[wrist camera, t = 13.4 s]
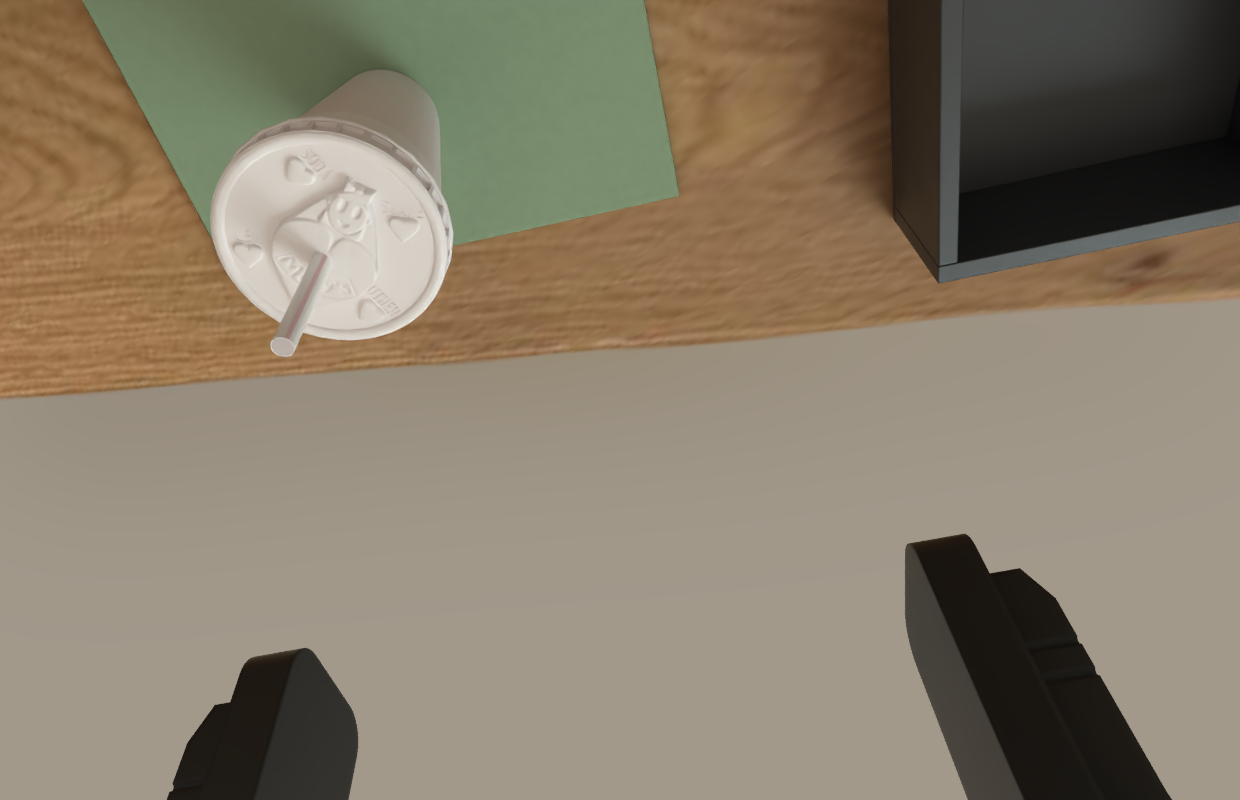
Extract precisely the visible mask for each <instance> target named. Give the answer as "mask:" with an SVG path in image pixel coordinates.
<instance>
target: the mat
mask: <svg viewBox="0 0 1240 800" xmlns="http://www.w3.org/2000/svg"><path fill="white" fill-rule="evenodd" d="M82 1H83V3H84V5H85V7H86V8H87V10H88V12H89V14H90V16H91V18H92V19H93V21H94V23H95V25H96V27H97V29H98V30H99V32H100V34H101V36H102V38H103V40H104V41H105V43H106V45H107V47H108V49H109V51H110V52H111V54H112V56H113V58H114V60H115V62H116V63H117V65H118V67H119V69H120V71H121V73H122V75H123V76H124V78H125V80H126V82H127V84H128V86H129V87H130V89H131V91H132V93H133V95H134V97H135V98H136V100H137V102H138V104H139V106H140V108H141V109H142V111H143V113H144V115H145V117H146V119H147V120H148V122H149V124H150V126H151V128H152V130H153V132H154V133H155V135H156V137H157V139H158V141H159V143H160V144H161V146H162V148H163V150H164V152H165V154H166V155H167V157H168V159H169V161H170V163H171V165H172V166H173V168H174V170H175V172H176V174H177V176H178V177H179V179H180V181H181V183H182V185H183V187H184V189H185V190H186V192H187V194H188V196H189V198H190V200H191V201H192V203H193V205H194V207H195V209H196V211H197V212H198V214H199V216H200V218H201V220H202V222H203V223H204V225H205V227H206V229H207V231H208V233H209V234H210V236H211V238H212V232H211V222H210V213H211V204H212V199H213V195H214V192H215V189H216V186H217V184H218V182H219V179H220V177H221V176H222V174H223V172H224V170H225V168H226V167H227V165H228V164H229V162H230V160H231V159H232V157H233V156H234V154H235V152H236V151H237V149H238V148H239V147H240V146H242V145H243V144H244V143H245V142H247V141H248V140H249V139H250V138H251V137H253V136H254V135H255V134H256V133H258V132H259V131H260V130H262V129H265V128H267V127H270V126H272V125H275V124H278V123H280V122H283V121H285V120H288V119H295V118H299V117H300V116H302V115H303V114H305V113H306V112H307V111H309V110H310V109H311V108H313V107H314V106H315V105H317V104H318V103H319V102H321V101H322V100H323V99H325V98H326V97H328V96H329V95H330V94H332V93H333V92H334V91H336V90H337V89H338V88H340V87H341V86H342V85H344V84H345V83H346V82H348V81H349V80H351V79H352V78H353V77H355V76H357V75H358V74H361V73H363V72H366V71H370V70H390V71H395V72H398V73H401V74H403V75H405V76H407V77H409V78H411V79H412V80H414V81H415V82H416V83H418V84H419V85H420V86H421V87H422V88H423V89H424V90H425V91H426V92H427V94H428V95H429V96H430V98H431V99H432V101H433V103H434V105H435V107H436V110H437V113H438V117H439V125H440V163H441V193H442V195H443V197H444V199H445V201H446V203H447V205H448V209H449V214H450V219H451V224H452V228H453V244H452V246H454V245H458V244H463V243H467V242H472V241H477V240H481V239H486V238H490V237H495V236H499V235H504V234H508V233H513V232H518V231H522V230H527V229H531V228H536V227H540V226H545V225H549V224H554V223H559V222H563V221H568V220H572V219H577V218H581V217H586V216H590V215H595V214H600V213H604V212H609V211H613V210H618V209H622V208H627V207H631V206H636V205H641V204H645V203H650V202H654V201H659V200H663V199H668V198H672V197H677V196H679V190H678V185H677V179H676V174H675V168H674V163H673V157H672V152H671V146H670V141H669V135H668V130H667V124H666V119H665V113H664V108H663V102H662V97H661V91H660V86H659V80H658V75H657V69H656V64H655V58H654V53H653V47H652V42H651V37H650V31H649V26H648V20H647V15H646V9H645V4H644V0H82ZM212 240H213V238H212Z"/></svg>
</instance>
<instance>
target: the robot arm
mask: <svg viewBox="0 0 1240 800" xmlns="http://www.w3.org/2000/svg"><path fill="white" fill-rule="evenodd" d="M905 618H906V627H907V633H908V638H909V642H910V646H911V650H912V653H913V656H914V660H915V662H916V665H917V668H918V671H919V673H920V676H921V679H922V681H923V684H924V686H925V689H926V692H927V694H928V697H929V699H930V702H931V705H932V707H933V710H934V712H935V715H936V717H937V720H938V723H939V725H940V728H941V731H942V733H943V736H944V738H945V741H946V743H947V746H948V749H949V751H950V754H951V756H952V759H953V762H954V764H955V767H956V770H957V772H958V775H959V777H960V780H961V783H962V785H963V788H964V791H965V793H966V796H967V798H968V800H1172V799H1171V798H1170V796H1169V795H1168V793H1167V792H1166V790H1165V788H1164V786H1163V785H1162V783H1161V782H1160V780H1159V778H1158V776H1157V774H1156V773H1155V771H1154V769H1153V767H1152V766H1151V764H1150V762H1149V760H1148V759H1147V757H1146V755H1145V753H1144V752H1143V750H1142V748H1141V746H1140V745H1139V743H1138V741H1137V739H1136V738H1135V736H1134V734H1133V732H1132V731H1131V729H1130V727H1129V725H1128V724H1127V722H1126V720H1125V718H1124V717H1123V715H1122V713H1121V712H1120V710H1119V708H1118V706H1117V705H1116V703H1115V701H1114V699H1113V698H1112V696H1111V694H1110V692H1109V691H1108V689H1107V687H1106V685H1105V684H1104V682H1103V680H1102V679H1101V677H1100V676H1099V675H1097V674H1096V671H1095V666H1094V665H1093V663H1092V661H1091V659H1090V657H1089V656H1088V654H1087V653H1086V650H1085V649H1084V647H1083V645H1082V644H1079V642H1078V640H1077V635H1076V633H1075V632H1074V630H1073V628H1072V626H1071V624H1070V623H1069V621H1068V619H1067V617H1066V616H1065V614H1064V612H1063V610H1062V609H1061V607H1060V605H1059V603H1058V602H1057V600H1056V598H1055V597H1053V596H1052V595H1051V594H1050V593H1049V592H1047V591H1046V590H1045V589H1044V588H1043V587H1042V586H1040V585H1039V584H1038V583H1037V582H1035V581H1034V580H1033V579H1032V578H1031V577H1030V576H1028V575H1027V574H1026V573H1024V571H1022V570H1021V569H1020V568H1019V569H1013V570H1007V571H1002V572H996V573H989V571H988V569H987V568H986V565H985V564H984V562H983V560H982V558H981V556H980V554H979V552H978V550H977V548H976V546H975V544H974V542H973V541H972V540H971V538H970V537H969V536H968V535H966V534H960V535H955V536H949V537H943V538H938V539H932V540H927V541H921V542H915V543H910V544H907V546H906V549H905ZM357 752H358V731H357V725H356V720H355V717H354V714H353V711H352V709H351V707H350V706H349V704H348V703H347V701H346V700H345V698H344V697H343V695H342V694H341V692H340V691H339V689H338V688H337V686H336V685H335V683H334V682H333V680H332V679H331V677H330V676H329V674H328V673H327V671H326V670H325V669H324V667H323V666H322V664H321V662H320V661H319V659H318V658H317V657H316V655H315V654H314V653H313V652H312V651H311V650H310V649H307V648H302V649H297V650H290V651H285V652H279V653H273V654H268V655H262V656H257V657H253V658H250V659H249V660H248V661H247V662H246V663H245V664H244V666H243V668H242V670H241V673H240V675H239V678H238V681H237V684H236V687H235V690H234V693H233V696H232V699H231V702H230V703H224V704H218V705H215V706H214V707H213V709H212V710H211V711H210V713H209V714H208V715H207V717H206V718H205V720H204V721H203V722H202V724H201V725H200V727H199V728H198V729H197V731H196V732H195V733H194V735H193V736H192V737H191V739H190V740H189V742H188V743H187V746H186V749H185V751H184V754H183V757H182V760H181V762H180V765H179V768H178V770H177V773H176V776H175V778H174V781H173V785H174V789H173V791H171V792H169V795H168V798H167V800H348V799H349V794H350V789H351V784H352V778H353V773H354V768H355V763H356V758H357Z"/></svg>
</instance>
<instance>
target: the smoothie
mask: <svg viewBox="0 0 1240 800" xmlns="http://www.w3.org/2000/svg"><path fill="white" fill-rule="evenodd" d="M210 222H211V232H212V238H213V242H214V246H215V249H216V252H217V254H218V257H219V259H220V261H221V263H222V265H223V267H224V269H225V271H226V272H227V274H228V276H229V277H230V278H231V280H232V281H233V283H234V284H235V285H236V286H237V288H238V289H239V290H240V291H241V292H242V293H243V294H244V295H245V296H246V297H247V298H248V299H249V300H250V301H251V302H252V303H253V304H254V305H255V306H257V307H258V308H259V309H260V310H262V311H263V312H264V313H266V314H267V315H269V316H270V317H272V318H274V319H275V320H277V321H279V322H280V325H279V327H278V329H277V331H276V333H275V335H274V337H273V339H272V341H271V345H270V346H271V349H272V351H273V352H274V353H275V354H277V355H279V356H282V357H288V356H290V355H292V354H293V353H294V351H295V349H296V347H297V344H298V342H299V340H300V338H301V335H302V333H303V332H304V333H307V334H310V335H314V336H318V337H322V338H328V339H337V340H361V339H368V338H374V337H378V336H382V335H385V334H388V333H391V332H394V331H396V330H398V329H400V328H402V327H404V326H405V325H407V324H409V323H410V322H412V321H413V320H414V319H416V318H417V317H418V316H419V315H420V314H422V313H423V312H424V311H425V310H426V309H427V307H428V306H429V305H430V304H431V302H432V301H433V300H434V298H435V297H436V295H437V293H438V291H439V289H440V287H441V285H442V282H443V279H444V276H445V273H446V271H447V269H448V266H449V264H450V261H451V256H452V244H453V228H452V224H451V219H450V214H449V209H448V205H447V203H446V201H445V199H444V197H443V195H442V193H441V163H440V125H439V117H438V113H437V110H436V107H435V105H434V103H433V101H432V99H431V98H430V96H429V95H428V94H427V92H426V91H425V90H424V89H423V88H422V87H421V86H420V85H419V84H418V83H416V82H415V81H414V80H412V79H411V78H409V77H407V76H405V75H403V74H401V73H398V72H395V71H390V70H370V71H366V72H363V73H361V74H358V75H357V76H355V77H353V78H352V79H351V80H349V81H348V82H346V83H345V84H344V85H342V86H341V87H340V88H338V89H337V90H336V91H334V92H333V93H332V94H330V95H329V96H328V97H326V98H325V99H323V100H322V101H321V102H319V103H318V104H317V105H315V106H314V107H313V108H311V109H310V110H309V111H307V112H306V113H305V114H303V115H302V116H300V117H299V118H295V119H288V120H285V121H283V122H280V123H278V124H275V125H272V126H270V127H267V128H265V129H262V130H260V131H259V132H258V133H256V134H255V135H254V136H253V137H251V138H250V139H249V140H248V141H247V142H245V143H244V144H243V145H242V146H240V147H239V148H238V149H237V151H236V152H235V154H234V156H233V157H232V159H231V160H230V162H229V164H228V165H227V167H226V168H225V170H224V172H223V174H222V176H221V177H220V179H219V182H218V184H217V186H216V189H215V192H214V195H213V199H212V204H211V213H210Z"/></svg>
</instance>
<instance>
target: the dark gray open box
mask: <svg viewBox="0 0 1240 800" xmlns="http://www.w3.org/2000/svg"><path fill="white" fill-rule="evenodd" d="M888 13H889V53H890V93H891V133H892V174H893V214H894V221H895V222H896V223H897V225H898V226H899V227H900V229H901V230H902V232H903V233H904V235H905V236H906V238H907V239H908V240H909V242H910V243H911V245H912V246H913V248H914V249H915V251H916V252H917V253H918V255H919V256H920V258H921V259H922V261H923V262H924V264H925V265H926V266H927V268H928V269H929V271H930V272H931V274H932V275H933V276H934V278H935V279H936V281H937V282H938V283H943V282H948V281H953V280H958V279H963V278H968V277H972V276H977V275H982V274H987V273H992V272H997V271H1002V270H1006V269H1011V268H1016V267H1021V266H1026V265H1031V264H1035V263H1040V262H1045V261H1050V260H1055V259H1060V258H1065V257H1069V256H1074V255H1079V254H1084V253H1089V252H1094V251H1099V250H1103V249H1108V248H1113V247H1118V246H1123V245H1128V244H1133V243H1137V242H1142V241H1147V240H1152V239H1157V238H1162V237H1167V236H1171V235H1176V234H1181V233H1186V232H1191V231H1196V230H1201V229H1205V228H1210V227H1215V226H1220V225H1225V224H1230V223H1234V222H1239V221H1240V0H888Z"/></svg>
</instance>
